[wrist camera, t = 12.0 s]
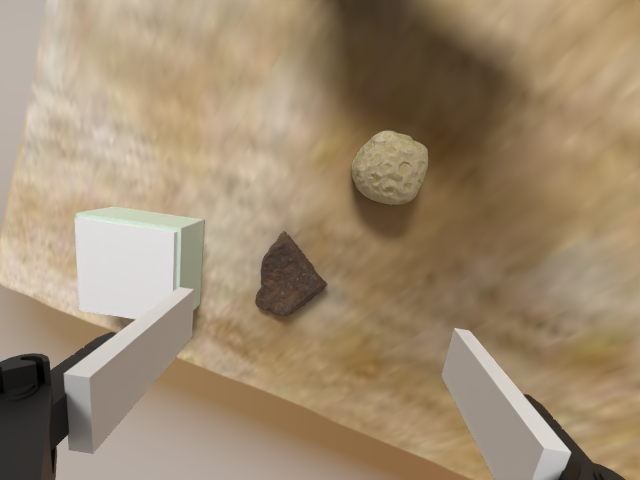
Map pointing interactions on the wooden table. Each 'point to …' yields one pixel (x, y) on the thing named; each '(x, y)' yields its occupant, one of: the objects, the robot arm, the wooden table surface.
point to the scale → (135, 259)
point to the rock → (287, 278)
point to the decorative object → (390, 168)
